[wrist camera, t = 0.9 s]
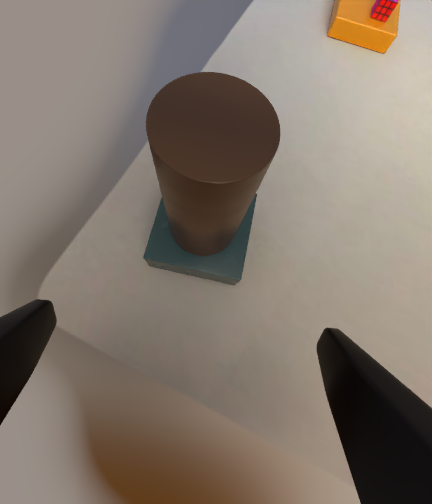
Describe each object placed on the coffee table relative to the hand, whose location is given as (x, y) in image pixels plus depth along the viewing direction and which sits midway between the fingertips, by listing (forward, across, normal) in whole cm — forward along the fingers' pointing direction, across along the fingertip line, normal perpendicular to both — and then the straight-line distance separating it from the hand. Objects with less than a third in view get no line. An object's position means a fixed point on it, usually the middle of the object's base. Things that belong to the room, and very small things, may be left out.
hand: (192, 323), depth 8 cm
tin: (+15, 0, +4) cm, 16 cm away
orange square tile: (+39, -18, -19) cm, 47 cm away
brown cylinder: (+13, 0, +2) cm, 13 cm away
